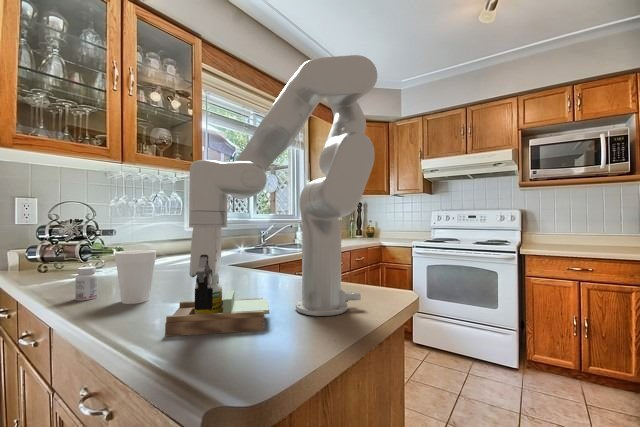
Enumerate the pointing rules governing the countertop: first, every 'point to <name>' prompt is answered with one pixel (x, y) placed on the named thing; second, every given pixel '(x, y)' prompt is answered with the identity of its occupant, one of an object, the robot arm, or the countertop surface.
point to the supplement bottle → (214, 298)
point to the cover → (243, 304)
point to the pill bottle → (86, 283)
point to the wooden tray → (211, 321)
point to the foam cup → (135, 274)
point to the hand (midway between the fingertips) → (207, 302)
